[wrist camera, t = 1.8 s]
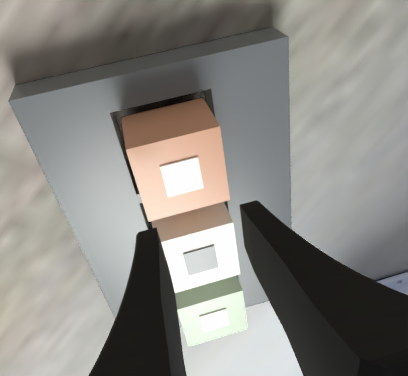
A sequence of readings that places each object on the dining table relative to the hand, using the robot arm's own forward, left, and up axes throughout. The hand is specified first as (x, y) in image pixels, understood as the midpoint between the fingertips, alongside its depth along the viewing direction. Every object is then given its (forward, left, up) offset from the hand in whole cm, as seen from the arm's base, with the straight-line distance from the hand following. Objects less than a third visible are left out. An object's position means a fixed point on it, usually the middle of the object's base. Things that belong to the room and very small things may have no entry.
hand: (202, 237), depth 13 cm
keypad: (0, +5, -8) cm, 10 cm away
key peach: (0, 0, -7) cm, 7 cm away
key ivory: (0, +5, -7) cm, 9 cm away
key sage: (0, +10, -7) cm, 12 cm away
